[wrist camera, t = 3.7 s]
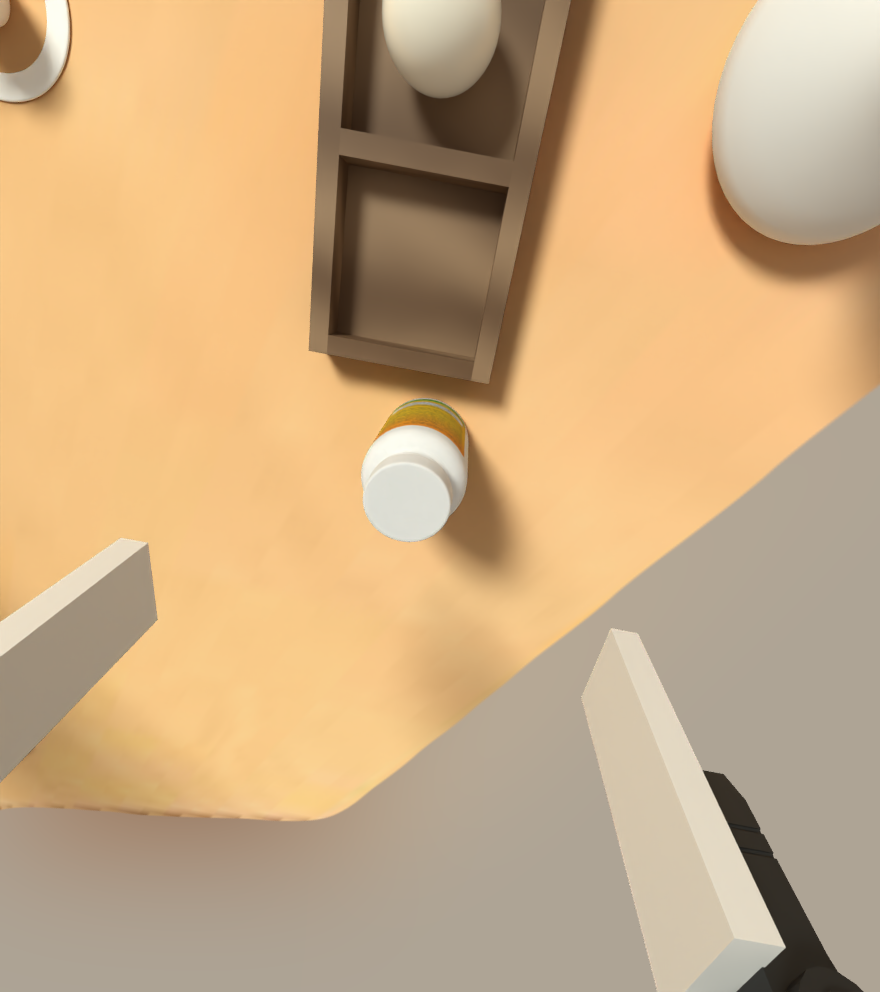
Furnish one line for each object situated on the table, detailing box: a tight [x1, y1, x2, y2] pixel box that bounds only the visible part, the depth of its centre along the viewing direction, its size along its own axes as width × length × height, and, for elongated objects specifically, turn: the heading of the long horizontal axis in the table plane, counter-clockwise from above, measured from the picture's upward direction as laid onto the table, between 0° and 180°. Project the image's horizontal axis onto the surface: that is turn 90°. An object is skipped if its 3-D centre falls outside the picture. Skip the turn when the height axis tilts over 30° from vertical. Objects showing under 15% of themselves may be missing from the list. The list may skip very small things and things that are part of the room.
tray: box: [309, 0, 571, 384], centre depth 22 cm, size 19×10×2 cm, turn 170°
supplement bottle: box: [361, 398, 469, 542], centre depth 24 cm, size 5×5×10 cm
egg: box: [382, 0, 502, 99], centre depth 18 cm, size 5×5×5 cm
